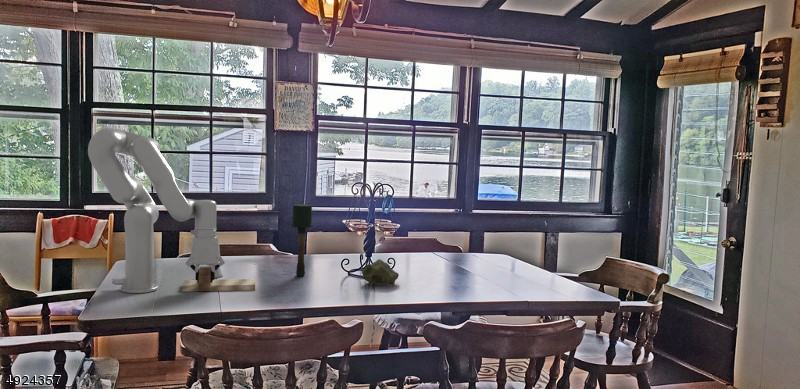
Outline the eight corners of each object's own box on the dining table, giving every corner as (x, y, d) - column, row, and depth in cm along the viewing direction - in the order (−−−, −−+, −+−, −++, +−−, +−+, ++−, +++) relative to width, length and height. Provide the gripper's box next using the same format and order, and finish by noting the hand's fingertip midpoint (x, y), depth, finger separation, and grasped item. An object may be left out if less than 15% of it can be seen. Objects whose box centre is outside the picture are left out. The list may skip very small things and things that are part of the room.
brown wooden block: (198, 291, 220) (198, 270, 219) (201, 282, 233) (201, 262, 233) (209, 290, 221) (210, 270, 220) (211, 282, 234) (212, 262, 234)
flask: (220, 278, 243) (220, 254, 242) (202, 278, 243) (202, 253, 242) (225, 275, 250) (225, 251, 250) (207, 274, 250) (208, 250, 249)
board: (181, 291, 220) (181, 285, 220) (184, 285, 230) (184, 279, 229) (255, 290, 227) (255, 284, 226) (254, 284, 236) (254, 278, 236)
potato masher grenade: (314, 275, 257) (316, 205, 254) (303, 278, 249) (305, 206, 247) (297, 272, 260) (299, 203, 258) (286, 276, 252) (288, 205, 250)
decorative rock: (407, 284, 247) (408, 260, 246) (384, 290, 234) (385, 265, 233) (378, 278, 256) (379, 255, 255) (354, 284, 242) (355, 260, 242)
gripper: (180, 234, 217) (180, 284, 219) (228, 234, 222) (228, 283, 223) (182, 231, 225) (182, 280, 226) (229, 231, 229) (228, 279, 230)
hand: (205, 281), depth 224 cm, fingers closed on brown wooden block, 4 cm apart
